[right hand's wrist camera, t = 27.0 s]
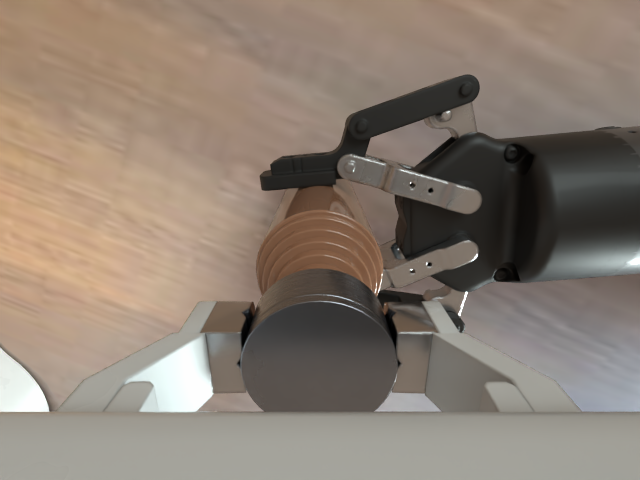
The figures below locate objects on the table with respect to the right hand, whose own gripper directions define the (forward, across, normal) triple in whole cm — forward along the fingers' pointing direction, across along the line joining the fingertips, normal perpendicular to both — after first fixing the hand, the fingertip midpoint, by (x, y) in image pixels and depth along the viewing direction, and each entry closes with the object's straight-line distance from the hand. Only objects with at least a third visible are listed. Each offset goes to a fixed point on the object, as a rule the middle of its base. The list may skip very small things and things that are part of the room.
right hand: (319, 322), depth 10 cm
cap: (-2, 0, 0) cm, 2 cm away
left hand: (+9, -3, 0) cm, 10 cm away
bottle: (+16, 0, 0) cm, 16 cm away
